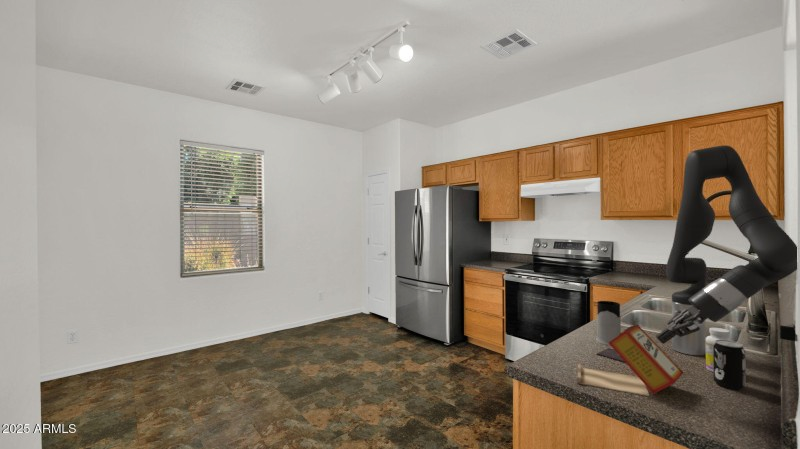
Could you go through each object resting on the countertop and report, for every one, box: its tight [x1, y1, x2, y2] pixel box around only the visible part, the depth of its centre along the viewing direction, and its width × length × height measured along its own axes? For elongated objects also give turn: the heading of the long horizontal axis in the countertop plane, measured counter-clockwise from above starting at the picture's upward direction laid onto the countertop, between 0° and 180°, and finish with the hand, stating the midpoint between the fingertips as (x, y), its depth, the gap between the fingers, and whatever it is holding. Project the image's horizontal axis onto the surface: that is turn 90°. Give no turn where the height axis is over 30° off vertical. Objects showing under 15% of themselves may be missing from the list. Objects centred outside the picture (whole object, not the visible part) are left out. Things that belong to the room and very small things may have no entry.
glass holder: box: [595, 300, 622, 346], centre depth 138 cm, size 9×14×15 cm, turn 143°
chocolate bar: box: [596, 347, 626, 364], centre depth 118 cm, size 9×1×18 cm
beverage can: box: [713, 340, 747, 391], centre depth 99 cm, size 7×7×12 cm
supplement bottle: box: [705, 327, 734, 373], centre depth 108 cm, size 7×7×13 cm
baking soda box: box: [608, 323, 684, 395], centre depth 100 cm, size 10×6×16 cm
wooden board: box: [577, 362, 650, 397], centre depth 103 cm, size 12×17×2 cm
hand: (659, 340), depth 96 cm, fingers closed
